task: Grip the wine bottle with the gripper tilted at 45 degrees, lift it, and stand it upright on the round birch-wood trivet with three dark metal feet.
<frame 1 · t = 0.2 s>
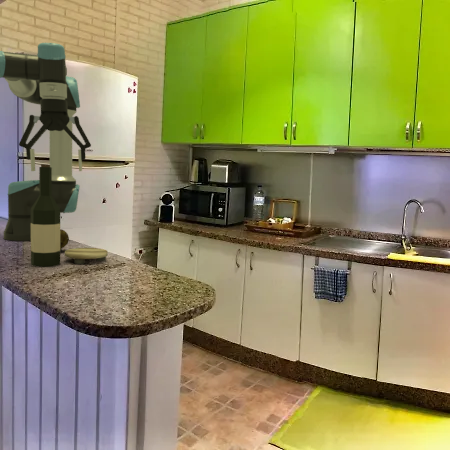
hand: (57, 171, 139), 28 cm above the countertop, tool pointing down, fingers open, 13 cm apart
potato: (54, 251, 161), on the countertop
wine bottle: (45, 264, 138), on the countertop
trivet: (86, 260, 146), on the countertop
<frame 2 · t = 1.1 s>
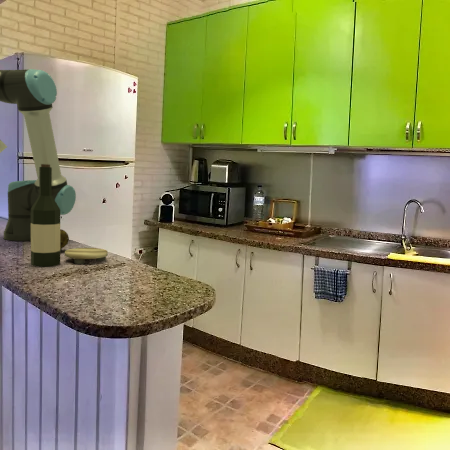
hand: (2, 150, 129), 33 cm above the countertop, tool tilted 45°, fingers open, 13 cm apart
nothing on the countertop moved.
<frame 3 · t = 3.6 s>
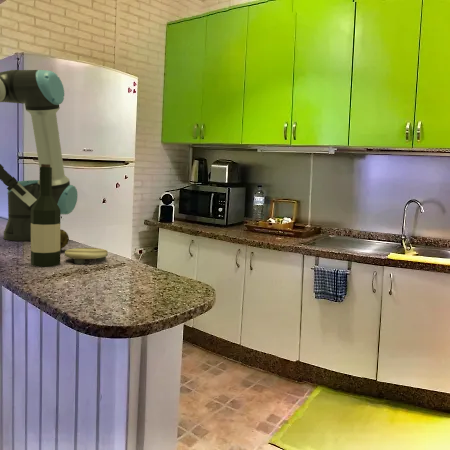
hand: (30, 201, 133), 19 cm above the countertop, tool tilted 45°, fingers open, 13 cm apart
nothing on the countertop moved.
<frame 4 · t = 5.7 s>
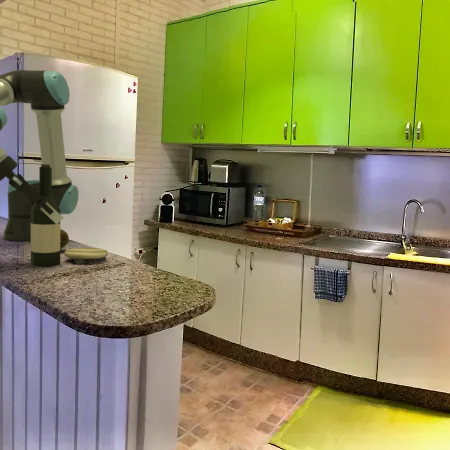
hand: (57, 219, 138), 14 cm above the countertop, tool tilted 45°, fingers closed on wine bottle, 8 cm apart
wine bottle: (45, 264, 138), on the countertop, touching gripper
everything else where it was.
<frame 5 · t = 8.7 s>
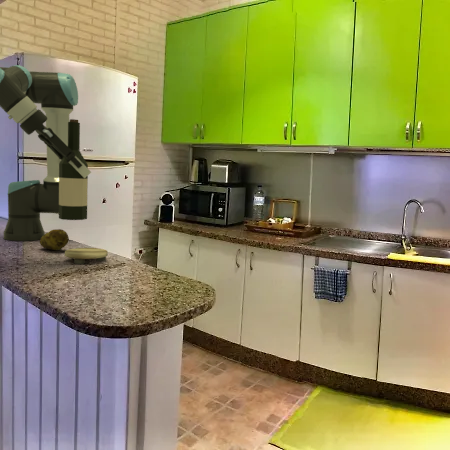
hand: (84, 174, 141), 27 cm above the countertop, tool tilted 45°, fingers closed on wine bottle, 8 cm apart
wine bottle: (73, 219, 141), point 13 cm above the countertop, touching gripper
everything else where it was.
when the fingers open (18 cm above the countertop, at t = 11.9 s): wine bottle drops 1 cm, resting on trivet.
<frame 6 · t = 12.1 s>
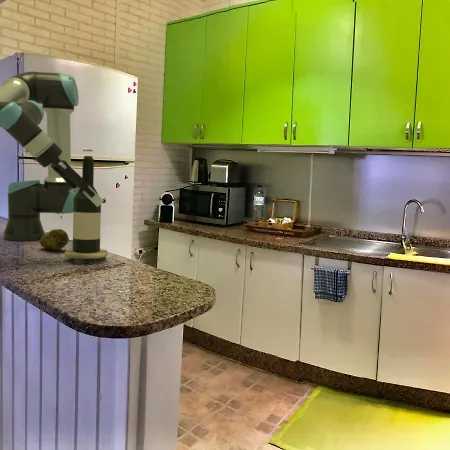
hand: (96, 202, 145), 19 cm above the countertop, tool tilted 45°, fingers open, 11 cm apart
wine bottle: (86, 251, 146), point 3 cm above the countertop, touching trivet
everything else where it was.
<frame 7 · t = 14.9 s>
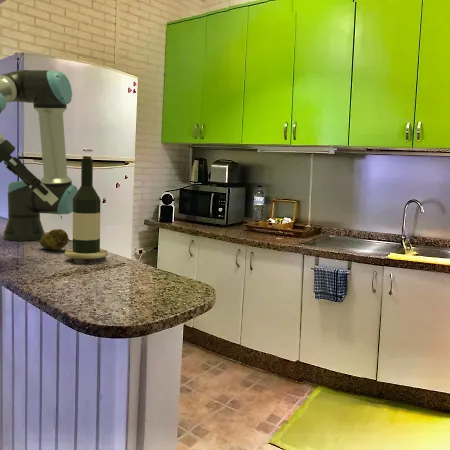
hand: (51, 200, 139), 19 cm above the countertop, tool tilted 45°, fingers open, 13 cm apart
nothing on the countertop moved.
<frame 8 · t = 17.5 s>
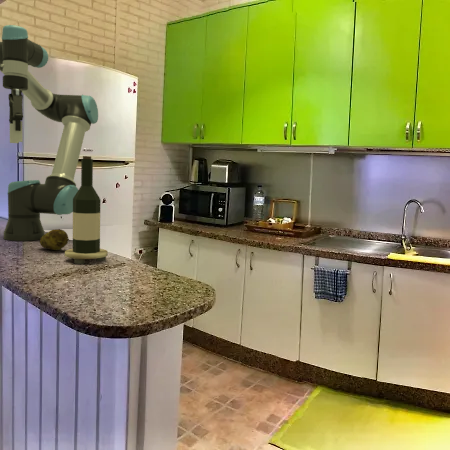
hand: (15, 142, 152), 37 cm above the countertop, tool pointing down, fingers open, 13 cm apart
nothing on the countertop moved.
at the end: wine bottle inside the target area on the trivet (0.1 cm from its centre), point 2.8 cm above the trivet's base; wine bottle tilted 0°; the gripper is holding nothing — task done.
